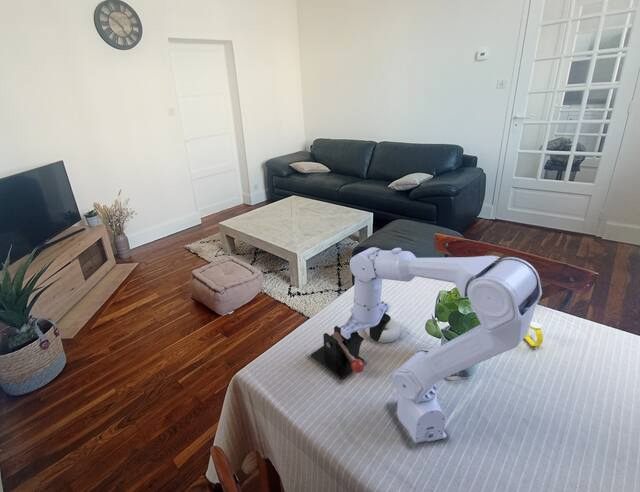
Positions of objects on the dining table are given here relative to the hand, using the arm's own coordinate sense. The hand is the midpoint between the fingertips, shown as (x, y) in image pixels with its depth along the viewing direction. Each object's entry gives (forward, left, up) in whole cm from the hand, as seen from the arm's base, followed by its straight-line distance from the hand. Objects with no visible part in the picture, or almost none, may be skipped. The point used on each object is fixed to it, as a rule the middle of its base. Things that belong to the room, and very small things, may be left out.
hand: (364, 346), depth 79 cm
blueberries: (-2, -22, -11) cm, 24 cm away
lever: (+5, +3, -7) cm, 9 cm away
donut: (+15, -12, -11) cm, 22 cm away
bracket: (+8, +4, -10) cm, 14 cm away
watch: (+2, -48, -11) cm, 49 cm away
